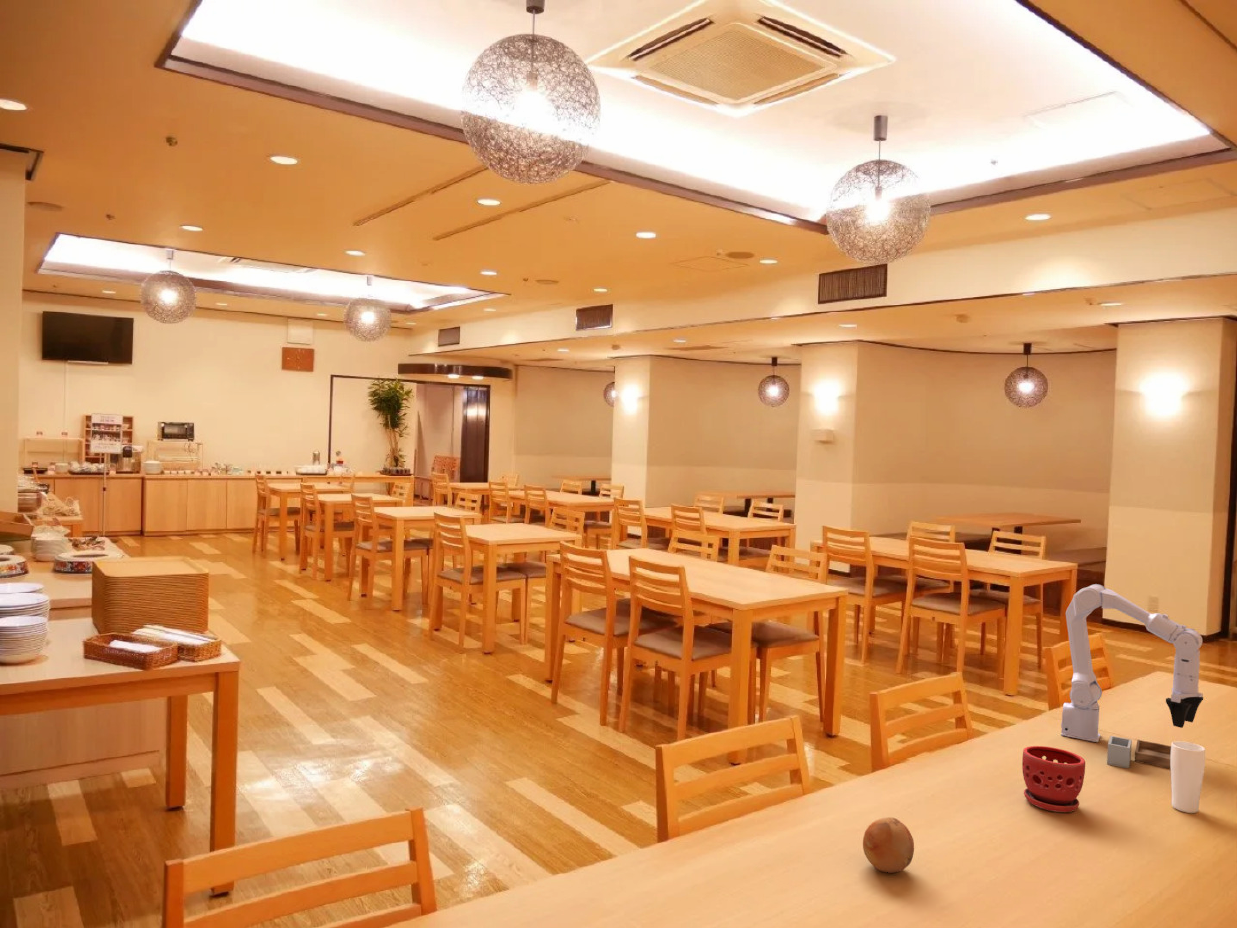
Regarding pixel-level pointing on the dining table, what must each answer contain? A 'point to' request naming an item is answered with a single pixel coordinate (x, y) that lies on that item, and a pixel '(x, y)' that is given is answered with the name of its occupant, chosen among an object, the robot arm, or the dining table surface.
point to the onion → (888, 845)
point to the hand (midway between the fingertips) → (1183, 723)
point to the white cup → (1186, 775)
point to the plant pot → (1052, 778)
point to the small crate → (1119, 752)
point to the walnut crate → (1152, 753)
